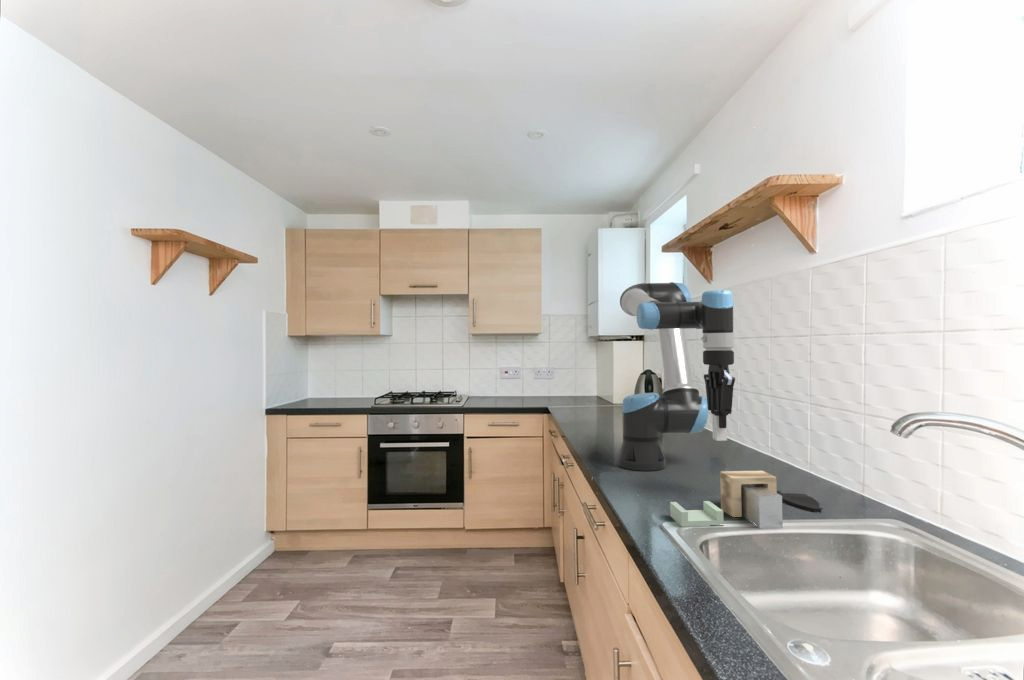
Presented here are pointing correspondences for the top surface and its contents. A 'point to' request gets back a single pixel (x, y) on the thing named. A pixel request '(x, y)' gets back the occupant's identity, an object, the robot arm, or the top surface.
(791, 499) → the fan shaped piece
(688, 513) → the cradle
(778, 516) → the steel bar
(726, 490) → the block
